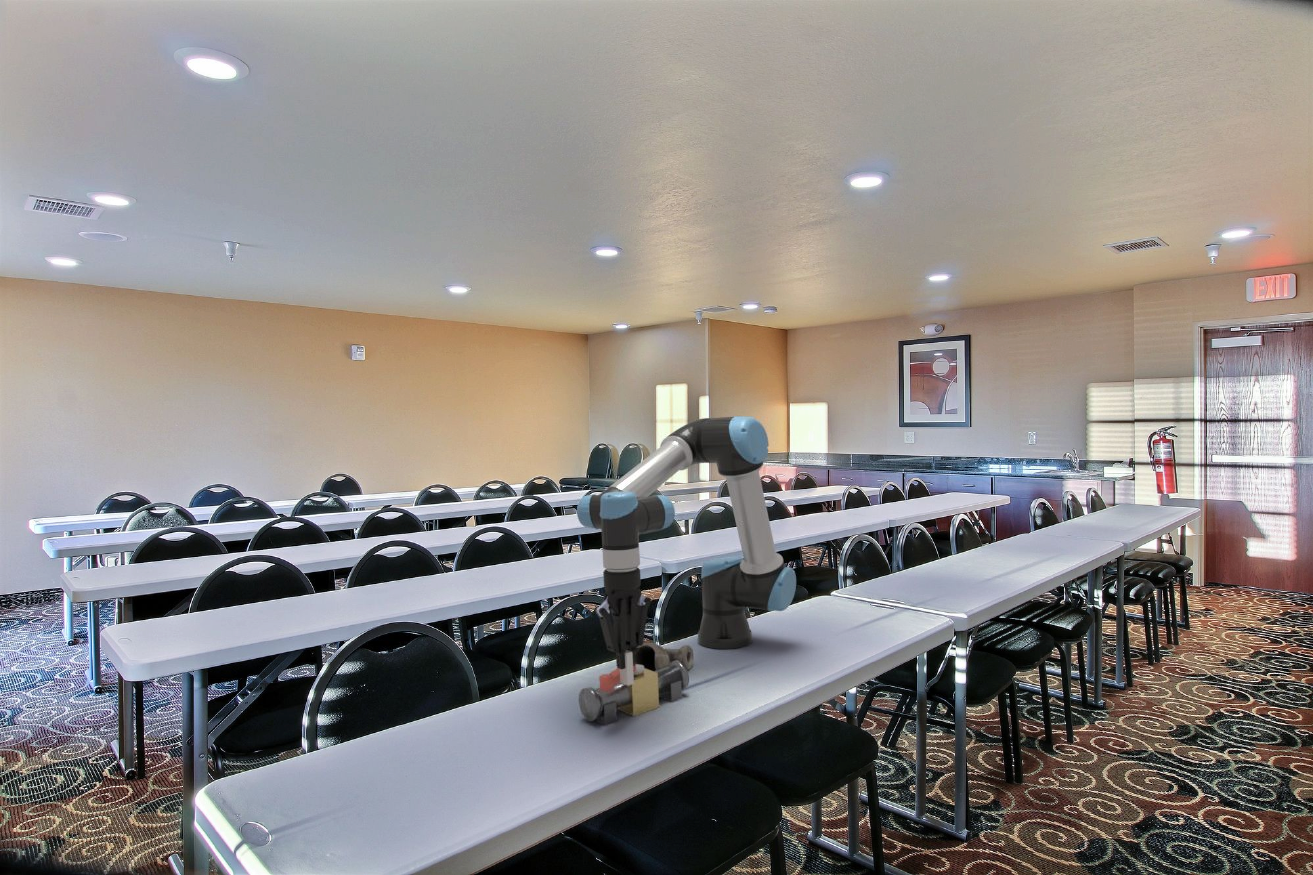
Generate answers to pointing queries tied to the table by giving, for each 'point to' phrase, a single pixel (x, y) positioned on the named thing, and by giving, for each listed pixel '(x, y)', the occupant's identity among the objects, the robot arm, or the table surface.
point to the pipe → (662, 656)
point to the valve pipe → (635, 694)
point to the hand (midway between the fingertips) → (626, 682)
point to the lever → (616, 678)
